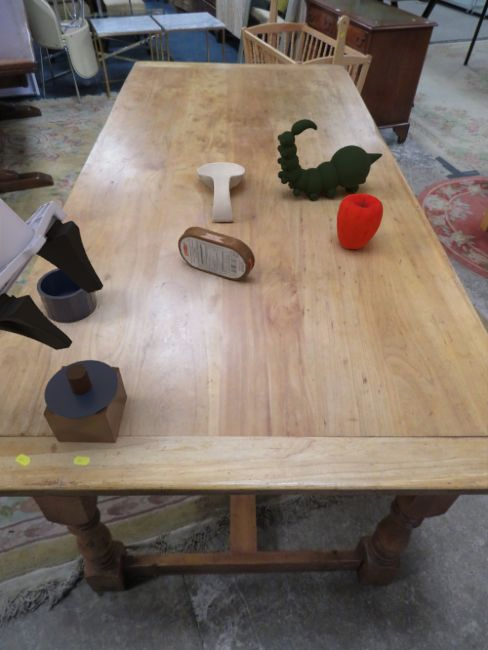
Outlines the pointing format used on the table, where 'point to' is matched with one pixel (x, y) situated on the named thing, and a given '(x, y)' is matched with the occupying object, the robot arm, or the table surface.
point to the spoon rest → (221, 186)
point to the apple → (358, 220)
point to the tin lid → (81, 389)
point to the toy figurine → (322, 166)
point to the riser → (91, 421)
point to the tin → (216, 253)
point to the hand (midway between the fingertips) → (81, 316)
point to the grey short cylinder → (64, 297)
